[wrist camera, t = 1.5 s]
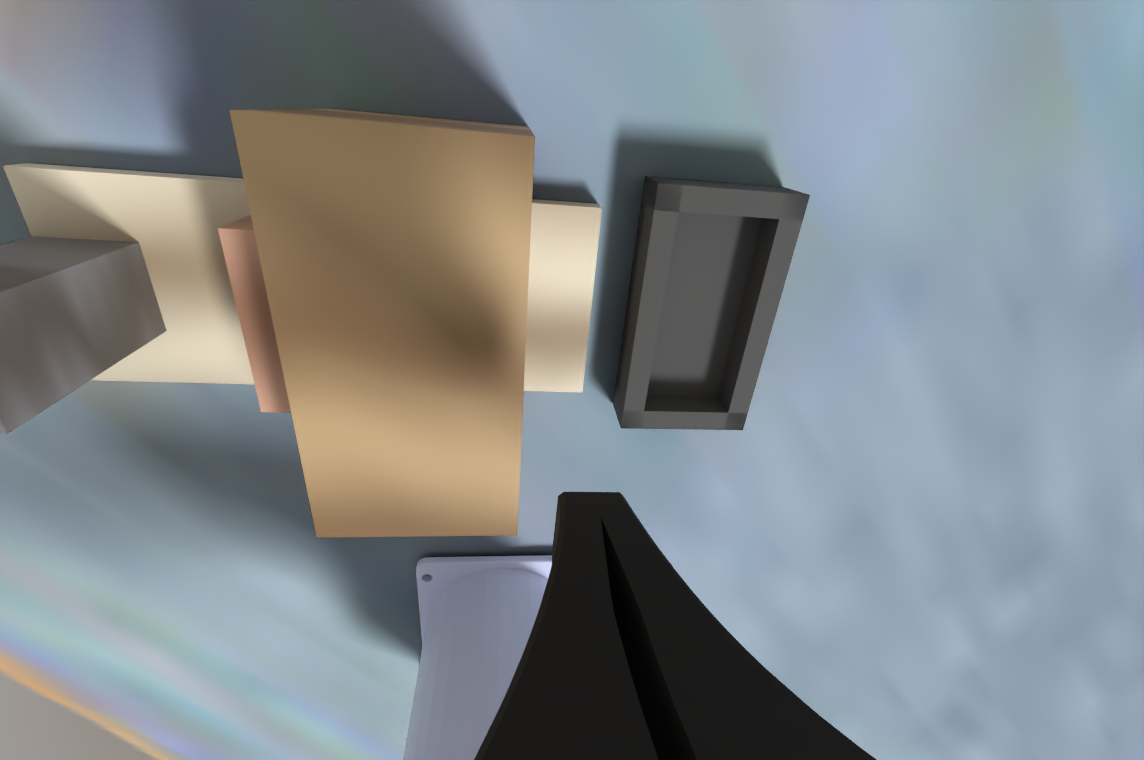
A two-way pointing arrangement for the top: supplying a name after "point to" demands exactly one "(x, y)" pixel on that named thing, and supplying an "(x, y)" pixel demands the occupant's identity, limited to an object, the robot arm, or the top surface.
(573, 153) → the top surface
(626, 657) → the robot arm
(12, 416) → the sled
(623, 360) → the tray
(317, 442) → the tunnel
